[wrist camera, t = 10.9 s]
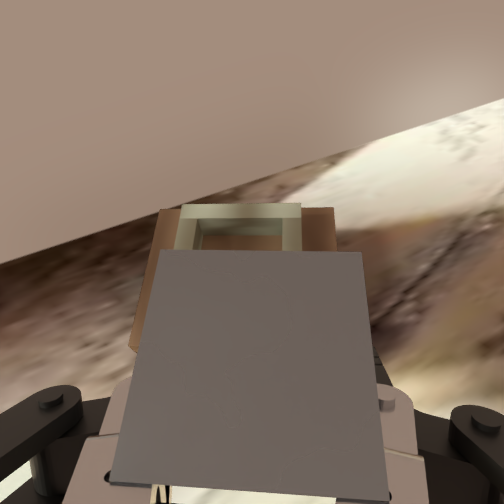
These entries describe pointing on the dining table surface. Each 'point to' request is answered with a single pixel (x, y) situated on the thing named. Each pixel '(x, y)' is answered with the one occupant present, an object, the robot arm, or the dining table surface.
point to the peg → (256, 377)
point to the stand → (234, 236)
